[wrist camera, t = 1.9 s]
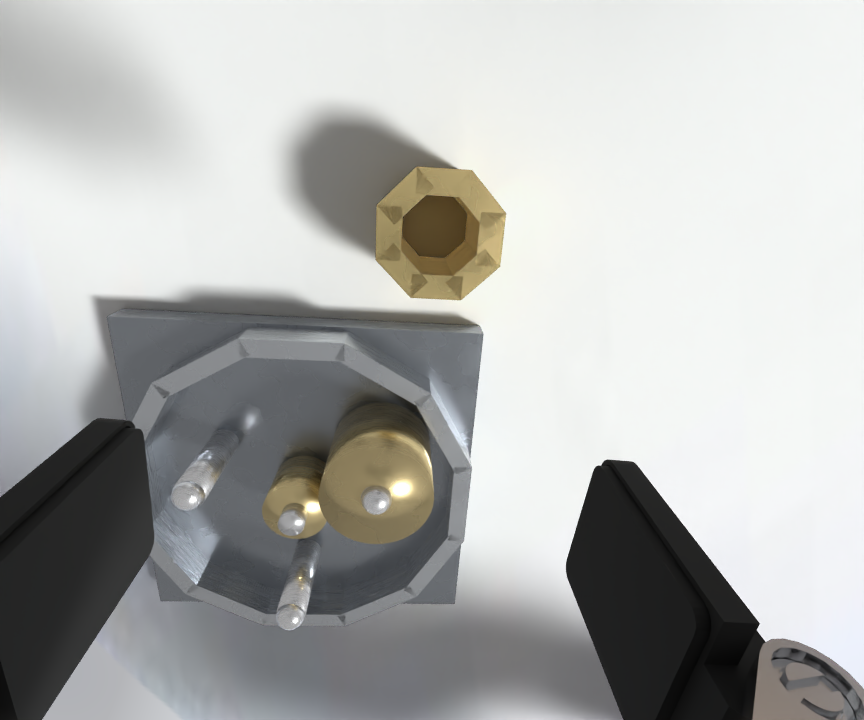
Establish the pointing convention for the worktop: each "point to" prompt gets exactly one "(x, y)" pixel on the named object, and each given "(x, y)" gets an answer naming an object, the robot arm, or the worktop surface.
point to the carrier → (302, 459)
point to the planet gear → (465, 261)
